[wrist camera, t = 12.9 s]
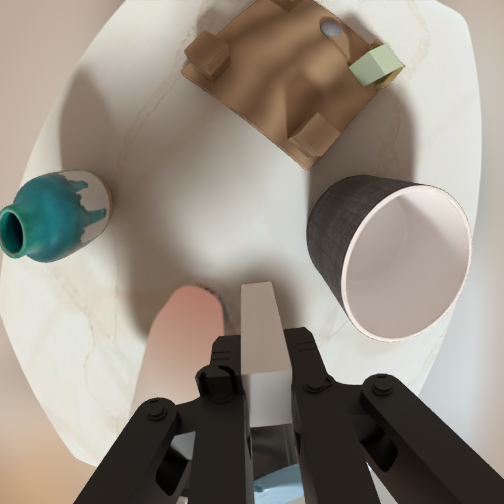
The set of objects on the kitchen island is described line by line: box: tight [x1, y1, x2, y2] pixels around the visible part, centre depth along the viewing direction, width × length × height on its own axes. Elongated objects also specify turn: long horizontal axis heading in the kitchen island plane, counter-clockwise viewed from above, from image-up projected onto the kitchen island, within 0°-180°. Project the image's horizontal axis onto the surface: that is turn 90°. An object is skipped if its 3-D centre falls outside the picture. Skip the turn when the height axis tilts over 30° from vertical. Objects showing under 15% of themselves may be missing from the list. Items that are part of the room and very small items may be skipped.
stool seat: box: [181, 0, 405, 170], centre depth 29 cm, size 22×22×9 cm
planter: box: [307, 175, 472, 342], centre depth 33 cm, size 18×18×16 cm
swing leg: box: [321, 20, 403, 87], centre depth 27 cm, size 4×11×7 cm, turn 36°
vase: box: [0, 170, 113, 263], centre depth 29 cm, size 11×11×19 cm
